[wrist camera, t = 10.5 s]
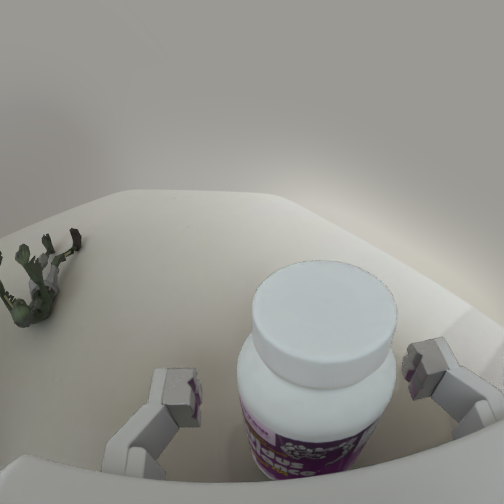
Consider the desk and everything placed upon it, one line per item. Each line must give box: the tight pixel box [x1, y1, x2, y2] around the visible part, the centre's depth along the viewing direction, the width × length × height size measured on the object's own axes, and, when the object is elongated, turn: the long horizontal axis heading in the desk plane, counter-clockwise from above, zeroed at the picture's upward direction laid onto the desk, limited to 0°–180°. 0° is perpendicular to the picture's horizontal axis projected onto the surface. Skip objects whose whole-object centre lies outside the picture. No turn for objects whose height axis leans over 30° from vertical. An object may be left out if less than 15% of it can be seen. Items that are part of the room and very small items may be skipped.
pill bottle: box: [237, 260, 397, 481], centre depth 11 cm, size 5×5×10 cm
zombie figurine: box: [0, 228, 82, 328], centre depth 24 cm, size 5×7×15 cm
